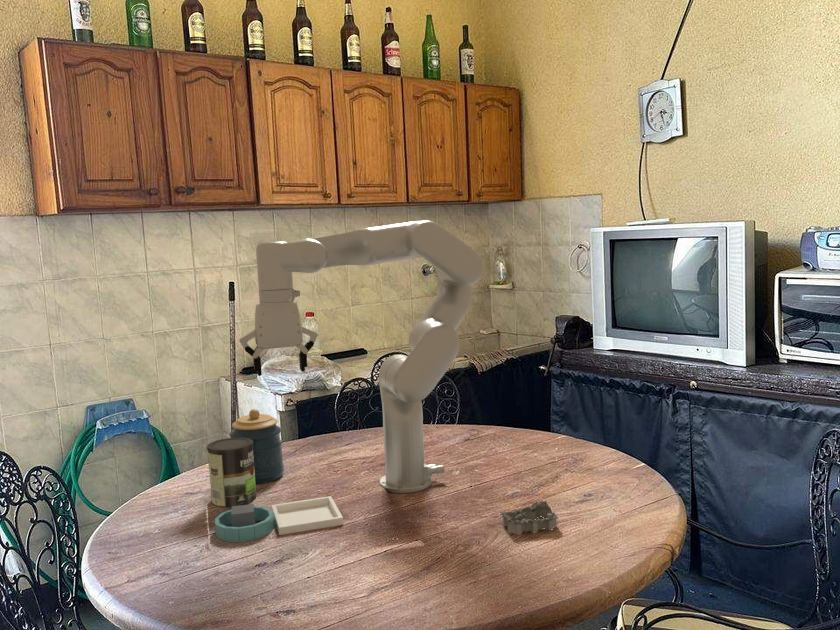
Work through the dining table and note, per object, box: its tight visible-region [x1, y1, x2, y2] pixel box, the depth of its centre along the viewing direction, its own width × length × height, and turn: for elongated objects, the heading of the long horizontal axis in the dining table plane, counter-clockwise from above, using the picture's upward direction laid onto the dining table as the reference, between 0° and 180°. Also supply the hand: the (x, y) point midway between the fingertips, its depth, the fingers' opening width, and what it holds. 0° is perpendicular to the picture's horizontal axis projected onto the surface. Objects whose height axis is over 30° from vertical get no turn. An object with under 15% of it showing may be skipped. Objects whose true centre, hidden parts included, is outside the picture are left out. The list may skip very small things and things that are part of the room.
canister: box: [228, 408, 285, 485], centre depth 184 cm, size 13×13×18 cm
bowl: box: [214, 505, 275, 543], centre depth 150 cm, size 12×12×4 cm
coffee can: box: [206, 437, 257, 508], centre depth 167 cm, size 10×10×14 cm
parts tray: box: [271, 495, 344, 536], centre depth 155 cm, size 13×13×2 cm
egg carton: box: [500, 500, 559, 536], centre depth 148 cm, size 11×8×4 cm
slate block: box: [230, 503, 256, 527], centre depth 151 cm, size 4×4×4 cm
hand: (281, 372), depth 164 cm, fingers open, 9 cm apart
